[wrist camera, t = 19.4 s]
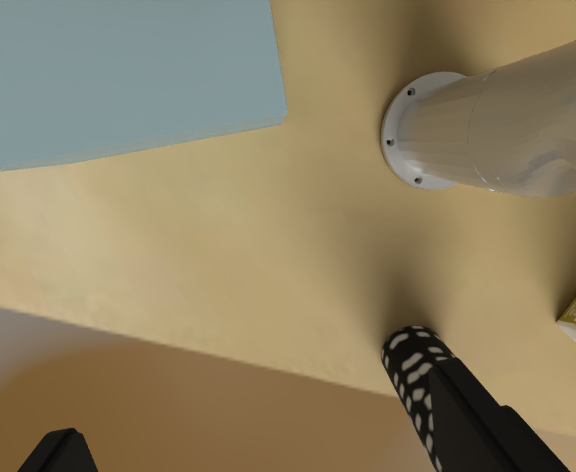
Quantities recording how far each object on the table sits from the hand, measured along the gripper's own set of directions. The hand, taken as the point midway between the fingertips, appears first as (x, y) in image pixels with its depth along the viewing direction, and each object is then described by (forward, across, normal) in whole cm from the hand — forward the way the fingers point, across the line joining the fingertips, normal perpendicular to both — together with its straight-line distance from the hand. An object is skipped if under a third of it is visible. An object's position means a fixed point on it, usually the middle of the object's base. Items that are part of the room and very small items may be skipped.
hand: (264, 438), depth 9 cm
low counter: (+33, +9, -15) cm, 38 cm away
